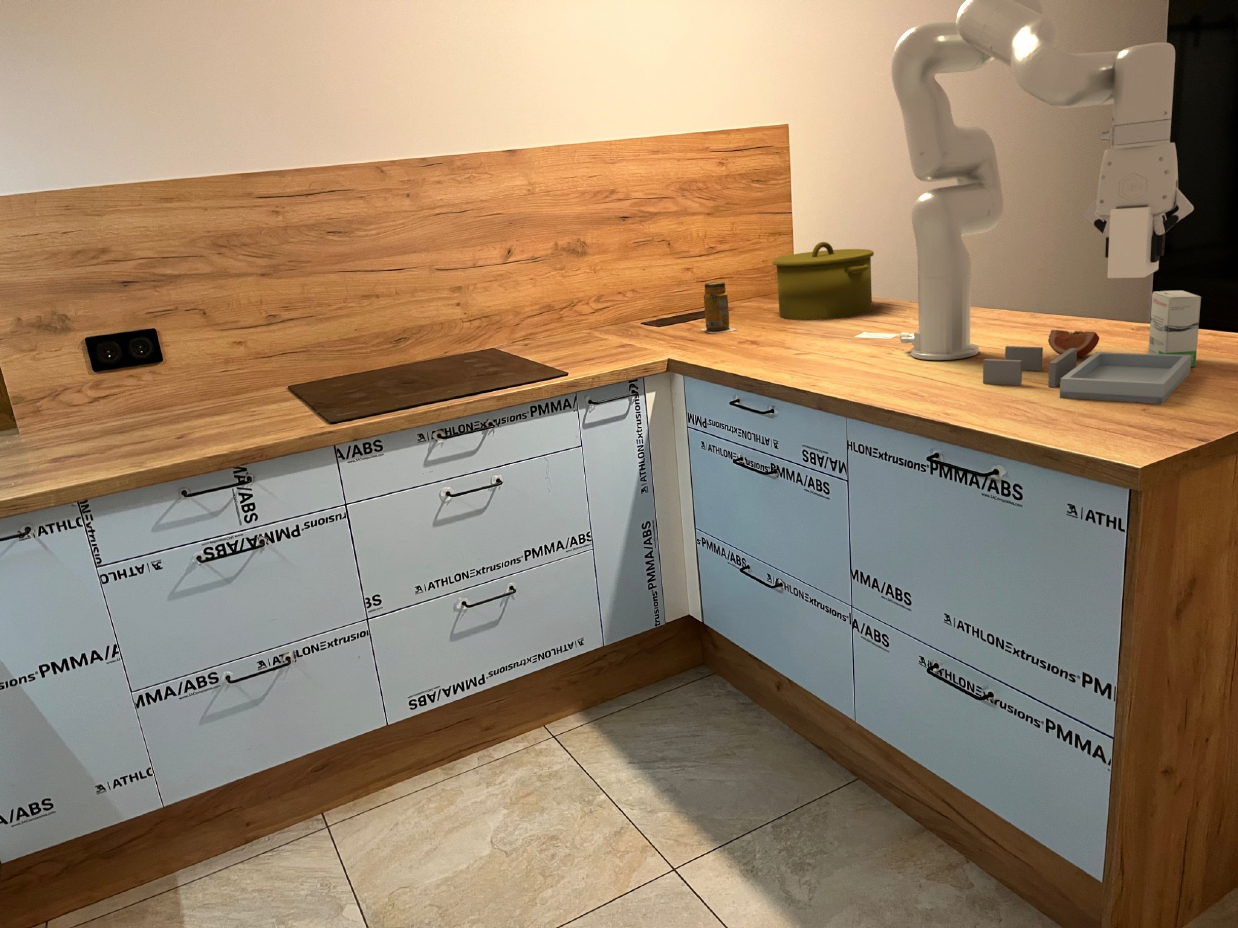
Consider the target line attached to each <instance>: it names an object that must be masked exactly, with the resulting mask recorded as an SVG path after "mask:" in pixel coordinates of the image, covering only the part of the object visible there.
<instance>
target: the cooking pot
mask: <svg viewBox="0 0 1238 928" xmlns="http://www.w3.org/2000/svg"><path fill="white" fill-rule="evenodd" d="M822 248H824V249H825V250H821V249H822ZM874 254H875V253H874V251H873V250H871V249H864V248H847V249H845V248H844V249H833V246H832V245H831V244H830V243H829V242H827V241H822V242H821V241H820V242H819V243H817V244H816V245H814V247H813V250H812V251H809V252H800V253H793V254H789V255H784V256H779V257H777V258H774V259H773V261H772V262H771V263H772V265H774V266H776V277H777V292H778V293H777V295H778V296H777V297H778V311H779V312H778V313H779V318H781V319H783V318H784V319H785V320H789V321H828V320H838V319H845V318H852V317H857V316H861V315H865V314H868V313H870V312H871V311H872V310H873V303H872V302H873V301H872V298H873V297H872V294H873V293H872V264H871V263H872V262H871V261H872V260H871V258H872V257H873V256H874Z"/></svg>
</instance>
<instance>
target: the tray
mask: <svg viewBox="0 0 1238 928" xmlns="http://www.w3.org/2000/svg"><path fill="white" fill-rule="evenodd" d="M1191 368H1192V367H1191V355H1172V354H1148V353H1136V352H1112V351H1111V352H1110V351H1109V352H1108V351H1106V352H1105V351H1096V352H1094V353H1092V354H1091V355H1090V356H1088V358H1086V359H1085V360H1083V361H1082V362H1080V363H1079V364H1078V365H1076V367H1075V368H1074V369H1073V370H1071V371H1070V372H1069V373H1067V374H1066V375H1065V376H1063V377H1062V378H1061V381H1060V384H1059V386H1060V387H1059V398H1063V399H1078V400H1094V401H1095V400H1097V401H1106V402H1107V401H1109V402H1122V403H1123V402H1125V403H1141V404H1142V403H1143V404H1153V405H1154V404H1156V405H1157V404H1158V405H1162V404H1164V402H1165V401H1167V400H1168V398H1169V397H1170V396H1171V395H1172V394H1173V393H1174V392H1175V391H1176V390H1177V388H1178V387H1179V386H1180V385H1182V383H1183V382H1184V381H1185V380H1186V379H1187V377H1188V376H1189V375H1190V374H1191Z"/></svg>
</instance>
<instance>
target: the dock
mask: <svg viewBox="0 0 1238 928" xmlns="http://www.w3.org/2000/svg"><path fill="white" fill-rule="evenodd" d="M1004 350H1005V351H1004V353H1005V354H1004V359H1000V358H999V359H997V358H985V359H983V362H982V364H983V365H982V376H983V377H982V383H983V384H989V385H991V384H993V385H1006V386H1007V385H1008V386H1021V385H1023V384H1022V382H1023V371H1031V372H1032V371H1033V372H1035V371H1036V372H1041V371H1043V355H1044V354H1043V353H1044V352H1043V351H1044V347H1043V346H1019V345H1017V346H1016V345H1006V346H1005V349H1004ZM1077 359H1078V358H1077V348H1070V349H1068V350H1067V351H1066V352H1064V353H1063V354H1061V355H1060V354H1059V356H1057V357H1056V358H1054V359H1053V360H1051V361H1050V362H1049V363H1048V384H1047V385H1048V388H1056V387H1058V386H1060V381H1061V378H1062V377H1063V376H1065V375H1066V374H1067V373H1069V372H1070V371H1071V370H1073V369H1074V368H1075V367H1077Z"/></svg>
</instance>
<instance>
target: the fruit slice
mask: <svg viewBox="0 0 1238 928" xmlns="http://www.w3.org/2000/svg"><path fill="white" fill-rule="evenodd" d="M1049 333H1050V334H1049V336H1048V340H1047V342H1048V345H1049V346H1050V347H1051V349H1052V350H1053V351H1054V352H1055V353H1056V354H1058V355H1059V356H1060V355H1061V354H1063V353H1064V352H1066V351H1067V350H1068V349H1070V348H1077V359H1078V358H1083V357H1085V356H1087V355H1088V354H1090V353H1092V351H1093V350H1095V348H1096V347H1097V345H1098V343H1099V341H1100V336H1099V335H1098V333H1096V331H1082V330H1077V331H1076V330H1075V331H1074V332H1072V331H1068V330H1061V329H1060V330H1059V329H1051V330H1050V332H1049Z"/></svg>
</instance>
